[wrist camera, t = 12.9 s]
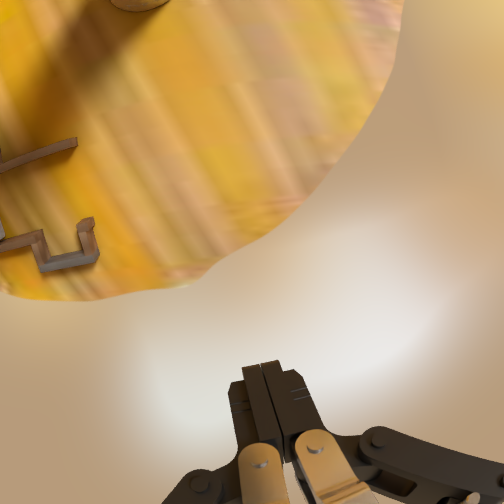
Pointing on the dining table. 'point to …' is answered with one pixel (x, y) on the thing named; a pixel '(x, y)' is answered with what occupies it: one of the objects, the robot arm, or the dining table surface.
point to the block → (1, 231)
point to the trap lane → (37, 237)
